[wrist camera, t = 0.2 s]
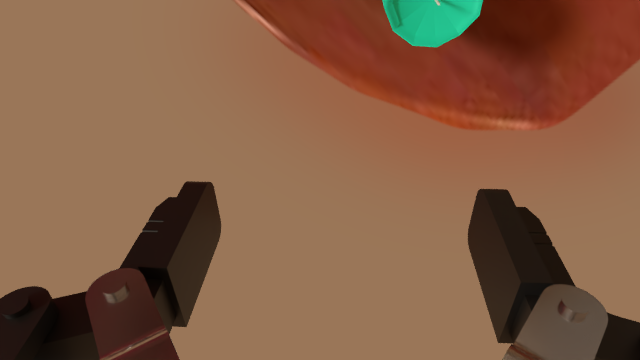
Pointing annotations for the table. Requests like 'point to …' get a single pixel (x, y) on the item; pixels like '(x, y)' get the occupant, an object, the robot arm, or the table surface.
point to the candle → (431, 19)
